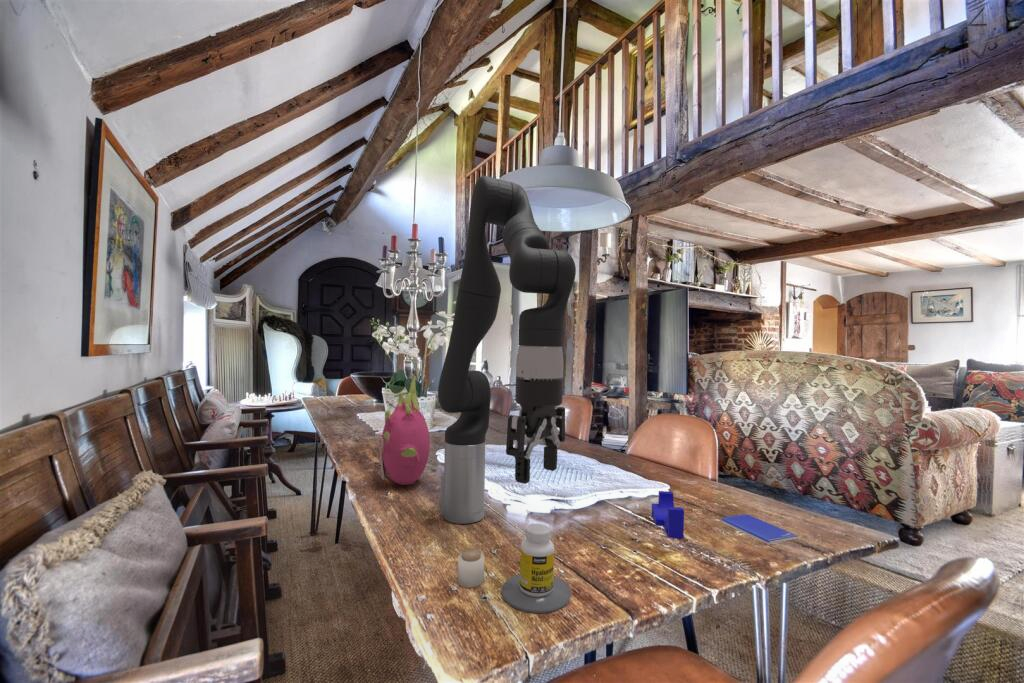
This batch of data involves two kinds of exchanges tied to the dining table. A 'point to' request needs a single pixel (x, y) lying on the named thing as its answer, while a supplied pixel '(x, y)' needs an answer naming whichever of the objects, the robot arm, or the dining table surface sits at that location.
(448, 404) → the robot arm
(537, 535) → the supplement bottle
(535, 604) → the slate coaster
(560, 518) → the dining table surface
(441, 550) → the dining table surface
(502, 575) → the dining table surface
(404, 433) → the pink dragon fruit
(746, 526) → the hard drive
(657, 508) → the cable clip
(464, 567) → the salt cellar
